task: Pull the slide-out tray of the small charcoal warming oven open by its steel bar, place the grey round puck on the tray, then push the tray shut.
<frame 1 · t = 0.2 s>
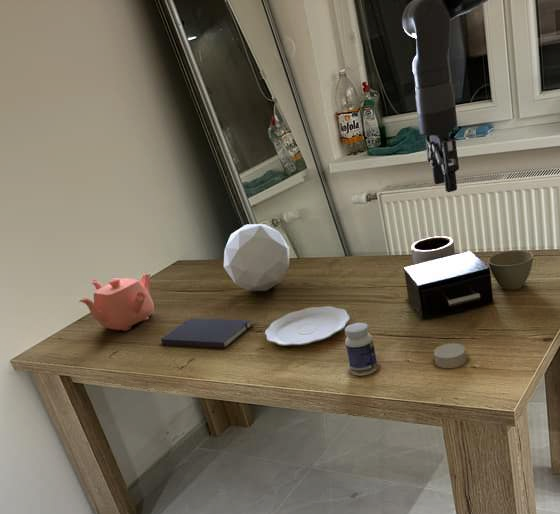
hand: (445, 187, 144), 29 cm above the table, tool pointing down, fingers open, 8 cm apart
cabinet: (449, 301, 163), on the table
notebook: (207, 335, 180), on the table
drawer: (453, 291, 157), point 4 cm above the table, slide at 0.5 cm
teapot: (127, 323, 202), on the table
pill bottle: (364, 370, 143), on the table
grey round puck: (450, 360, 138), on the table
flower pot: (512, 286, 163), on the table
planter: (436, 279, 178), on the table
ball: (264, 287, 203), on the table
plate: (308, 331, 167), on the table
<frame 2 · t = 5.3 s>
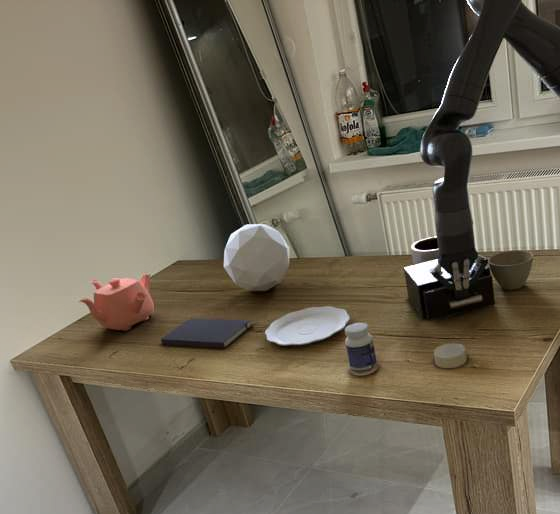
hand: (462, 303, 151), 4 cm above the table, tool pointing down, fingers closed
drawer: (454, 293, 156), point 4 cm above the table, slide at 1.8 cm
everything else where it was.
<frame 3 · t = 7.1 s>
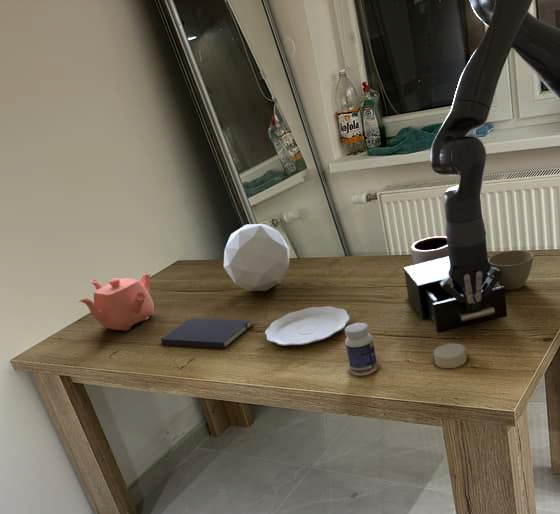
hand: (474, 316, 144), 4 cm above the table, tool pointing down, fingers closed
drawer: (465, 304, 149), point 4 cm above the table, slide at 9.3 cm
everything else where it was.
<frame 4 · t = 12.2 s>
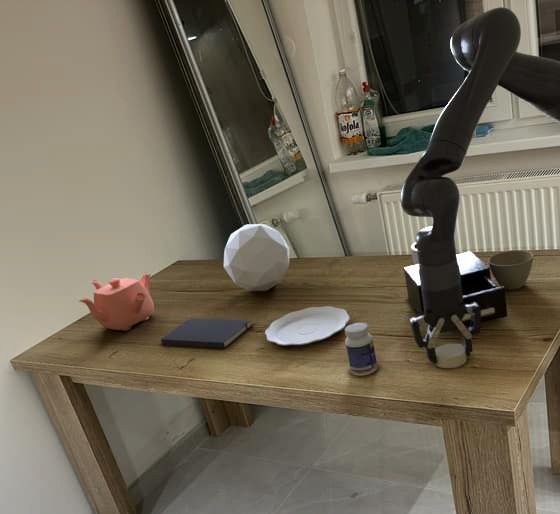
hand: (450, 357, 137), 1 cm above the table, tool pointing down, fingers closed on grey round puck, 6 cm apart
grey round puck: (450, 360, 138), on the table, touching gripper
everything else where it was.
when the fingers open (5 cm above the table, at t = 32.2 s): grey round puck drops 2 cm, resting on drawer.
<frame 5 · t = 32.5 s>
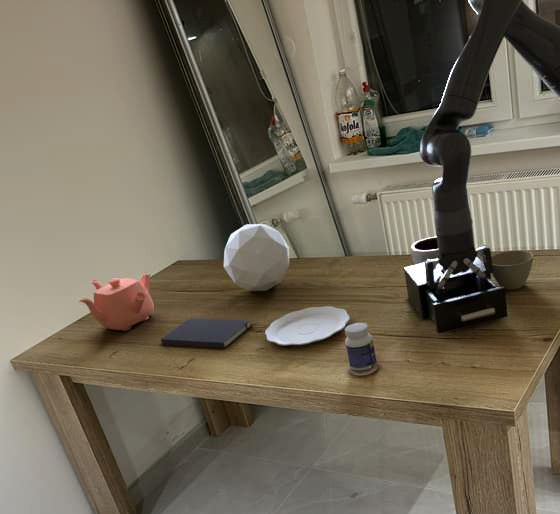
hand: (462, 297, 151), 5 cm above the table, tool pointing down, fingers open, 8 cm apart
drawer: (465, 304, 149), point 4 cm above the table, slide at 9.5 cm, touching grey round puck
grey round puck: (464, 310, 152), point 2 cm above the table, touching drawer
everything else where it was.
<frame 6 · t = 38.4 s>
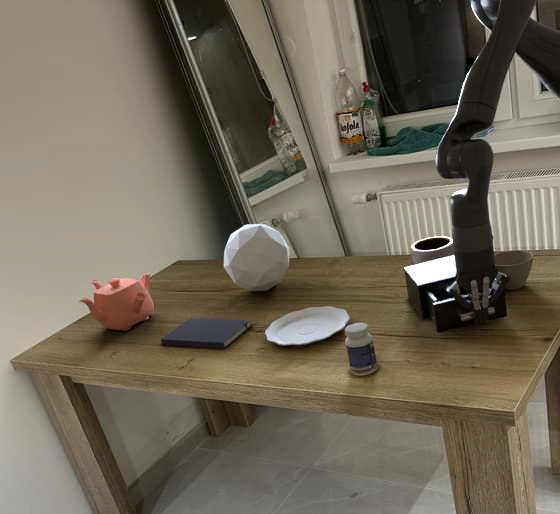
hand: (481, 323, 141), 4 cm above the table, tool pointing down, fingers closed
drawer: (465, 304, 149), point 4 cm above the table, slide at 9.2 cm, touching grey round puck, gripper
everything else where it was.
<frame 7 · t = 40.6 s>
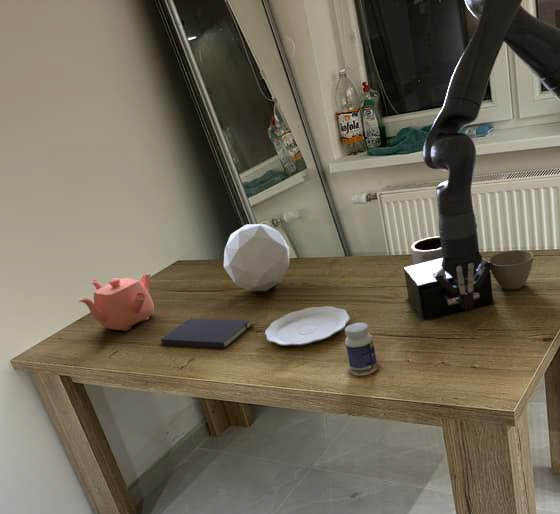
hand: (467, 307, 149), 4 cm above the table, tool pointing down, fingers closed
drawer: (452, 290, 158), point 4 cm above the table, slide at 0.0 cm, touching grey round puck, gripper
grey round puck: (451, 296, 161), point 2 cm above the table, touching drawer
everything else where it was.
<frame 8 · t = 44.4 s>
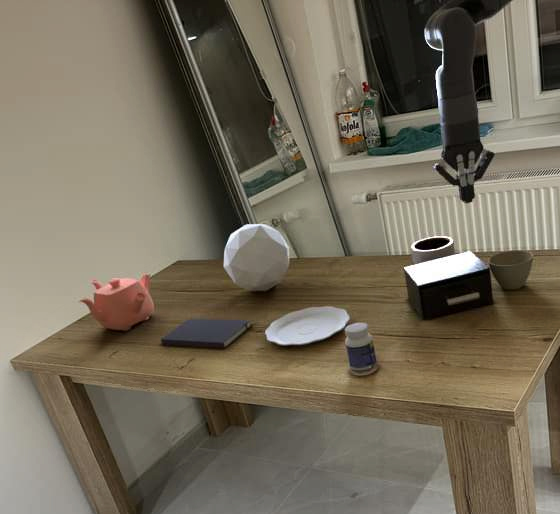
hand: (467, 202, 145), 25 cm above the table, tool pointing down, fingers closed
drawer: (452, 290, 158), point 4 cm above the table, slide at 0.0 cm, touching grey round puck
everything else where it was.
at the end: drawer pulled out 9.5 cm at the most during the clip, back to where it started at the end; grey round puck inside the target area in the cabinet (2.0 cm from its centre), point 2.0 cm above the cabinet's base; drawer slide at 0.0 cm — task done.
